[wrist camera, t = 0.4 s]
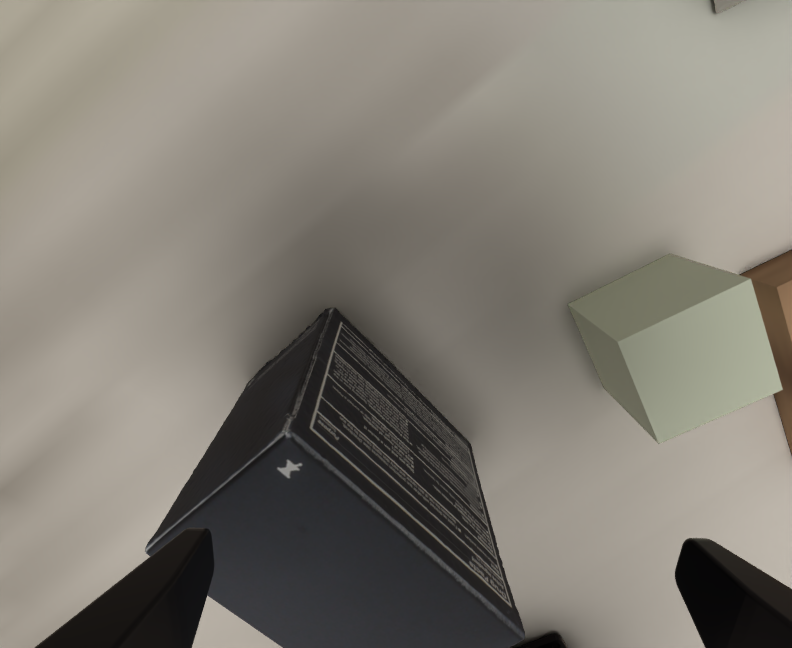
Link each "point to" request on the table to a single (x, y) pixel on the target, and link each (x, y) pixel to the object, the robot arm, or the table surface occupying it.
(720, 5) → the ink box
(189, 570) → the robot arm
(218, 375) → the table surface
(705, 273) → the sage cube
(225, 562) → the small box
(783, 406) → the brown wooden tray
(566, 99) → the table surface
